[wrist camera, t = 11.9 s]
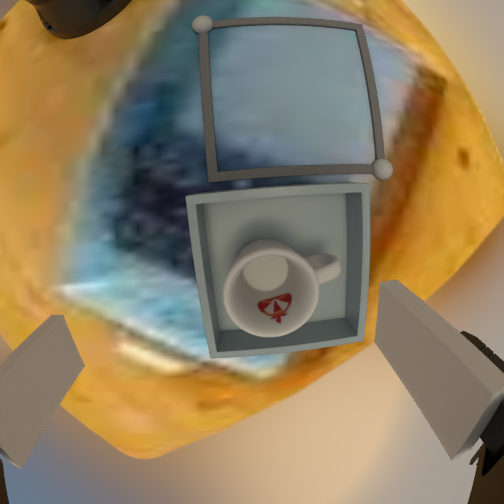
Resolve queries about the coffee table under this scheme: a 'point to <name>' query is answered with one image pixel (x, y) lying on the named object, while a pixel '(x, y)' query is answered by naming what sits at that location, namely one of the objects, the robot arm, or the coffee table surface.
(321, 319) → the bin
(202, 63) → the square tray frame
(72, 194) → the coffee table surface
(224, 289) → the cup
